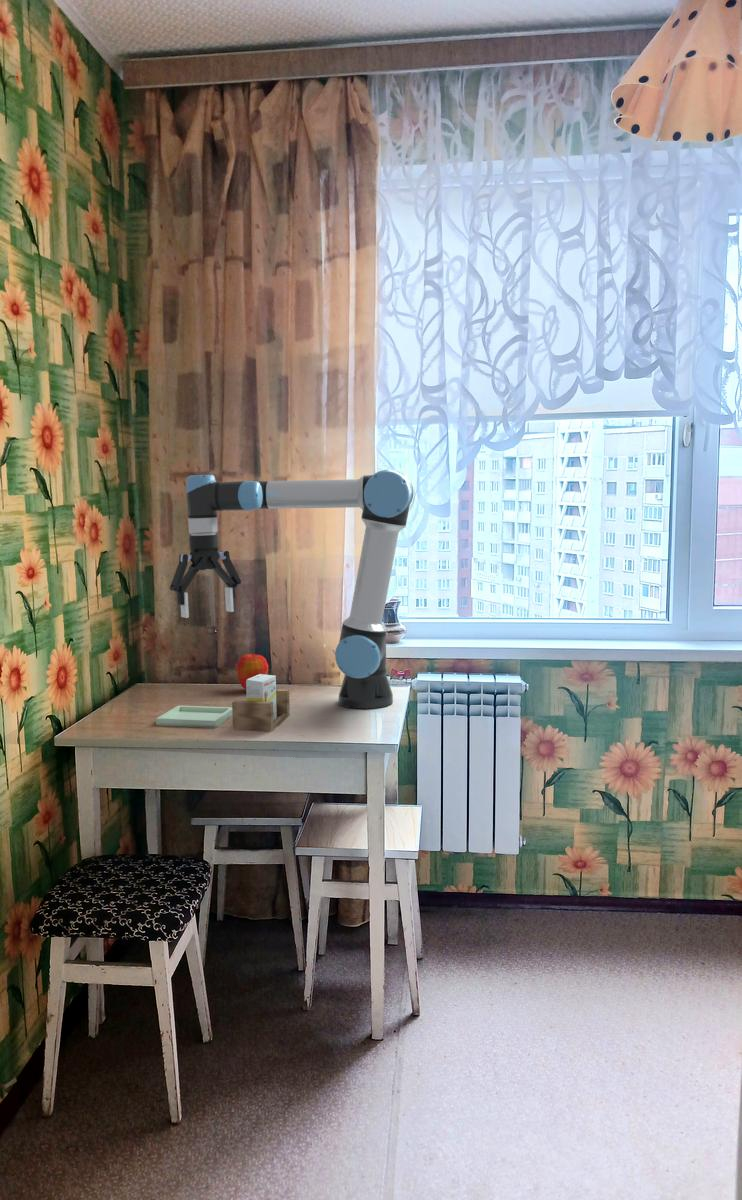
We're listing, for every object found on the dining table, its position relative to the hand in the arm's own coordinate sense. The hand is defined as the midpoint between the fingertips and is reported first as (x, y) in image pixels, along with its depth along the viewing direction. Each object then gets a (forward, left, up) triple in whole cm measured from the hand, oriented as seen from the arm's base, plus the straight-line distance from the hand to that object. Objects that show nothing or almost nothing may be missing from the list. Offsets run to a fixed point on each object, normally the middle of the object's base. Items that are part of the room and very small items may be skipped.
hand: (207, 614), depth 243 cm
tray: (+1, +8, -27) cm, 28 cm away
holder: (-17, +8, -27) cm, 32 cm away
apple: (-3, -26, -27) cm, 38 cm away
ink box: (-17, +8, -27) cm, 33 cm away
